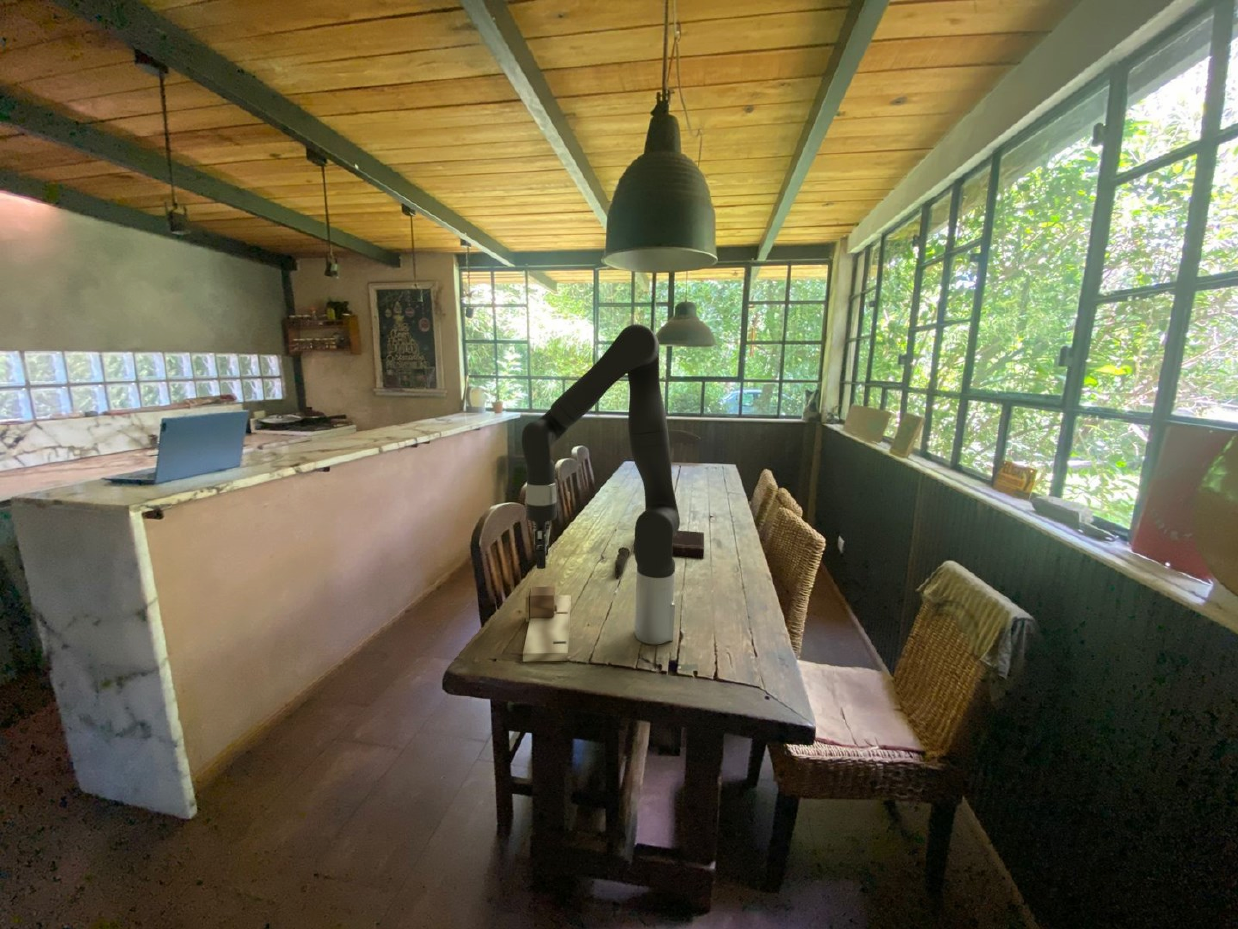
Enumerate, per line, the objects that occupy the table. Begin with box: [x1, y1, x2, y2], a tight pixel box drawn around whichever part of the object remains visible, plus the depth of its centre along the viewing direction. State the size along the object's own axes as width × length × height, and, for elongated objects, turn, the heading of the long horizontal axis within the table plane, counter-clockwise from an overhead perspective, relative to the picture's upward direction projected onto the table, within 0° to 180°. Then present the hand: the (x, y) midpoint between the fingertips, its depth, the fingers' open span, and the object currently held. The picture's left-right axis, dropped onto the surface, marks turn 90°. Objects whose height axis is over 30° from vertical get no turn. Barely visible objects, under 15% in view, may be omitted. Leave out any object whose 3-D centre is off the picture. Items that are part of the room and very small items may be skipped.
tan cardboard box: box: [525, 586, 557, 623], centre depth 124 cm, size 8×5×7 cm, turn 94°
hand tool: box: [614, 546, 631, 580], centre depth 160 cm, size 19×4×5 cm, turn 171°
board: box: [522, 594, 572, 663], centre depth 121 cm, size 10×28×2 cm, turn 4°
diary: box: [633, 530, 705, 560], centre depth 179 cm, size 19×25×5 cm
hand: (542, 561), depth 122 cm, fingers open, 8 cm apart
